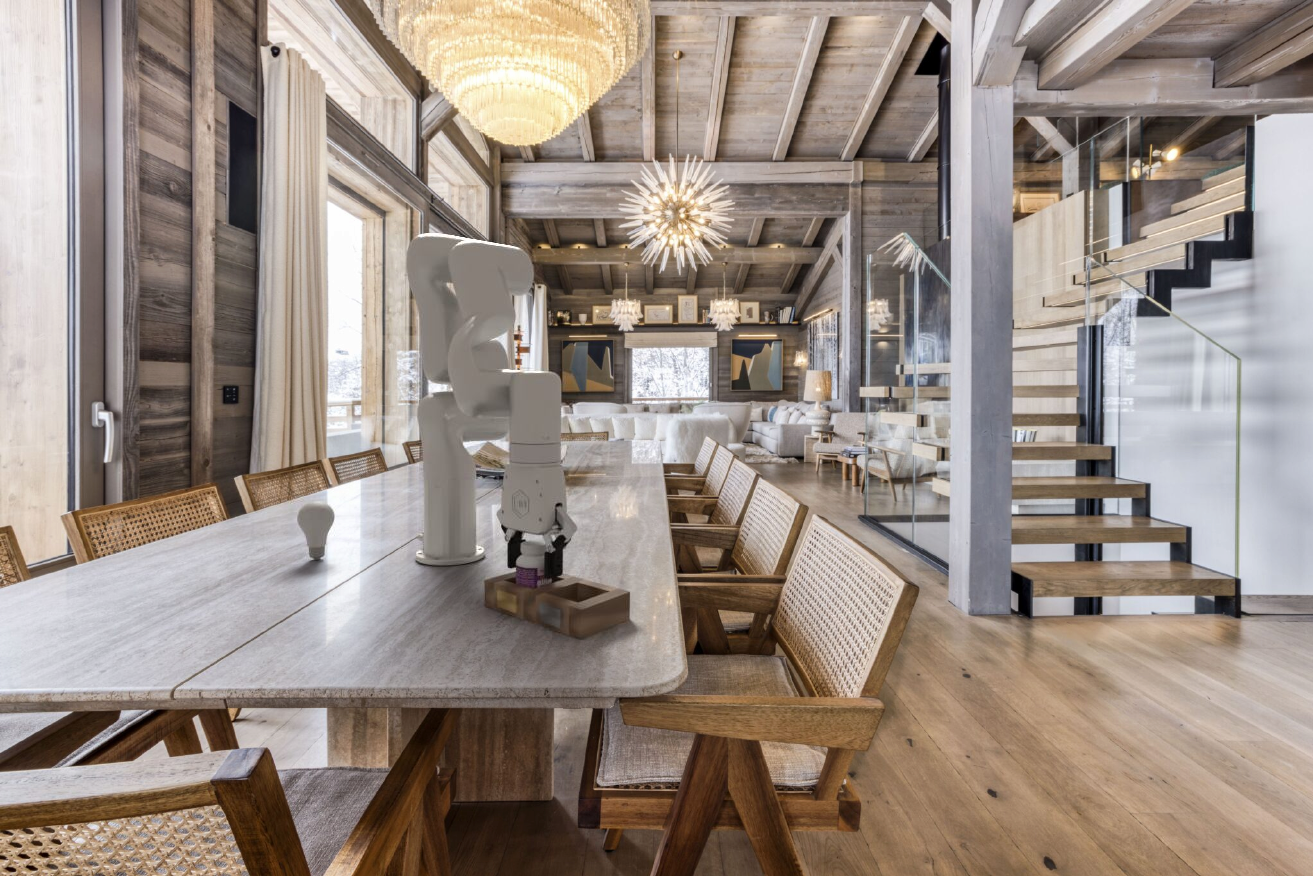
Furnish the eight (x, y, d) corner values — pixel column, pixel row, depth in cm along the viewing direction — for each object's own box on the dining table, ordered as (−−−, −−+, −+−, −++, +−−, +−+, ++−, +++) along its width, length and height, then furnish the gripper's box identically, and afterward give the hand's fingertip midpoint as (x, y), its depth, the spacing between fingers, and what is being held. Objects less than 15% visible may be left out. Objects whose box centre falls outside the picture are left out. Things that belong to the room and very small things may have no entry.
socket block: (482, 606, 97) (482, 580, 96) (534, 590, 105) (534, 566, 105) (578, 640, 85) (579, 610, 84) (629, 618, 93) (630, 591, 93)
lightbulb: (324, 564, 117) (323, 504, 116) (291, 563, 117) (289, 503, 117) (341, 555, 123) (340, 498, 123) (309, 555, 124) (308, 498, 123)
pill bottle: (543, 613, 95) (544, 548, 94) (509, 610, 96) (510, 545, 95) (556, 601, 100) (557, 539, 99) (524, 598, 101) (524, 537, 100)
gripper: (477, 451, 98) (477, 566, 100) (558, 461, 88) (557, 589, 89) (516, 448, 104) (515, 556, 105) (595, 457, 94) (594, 577, 95)
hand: (534, 570), depth 97 cm, fingers open, 7 cm apart
